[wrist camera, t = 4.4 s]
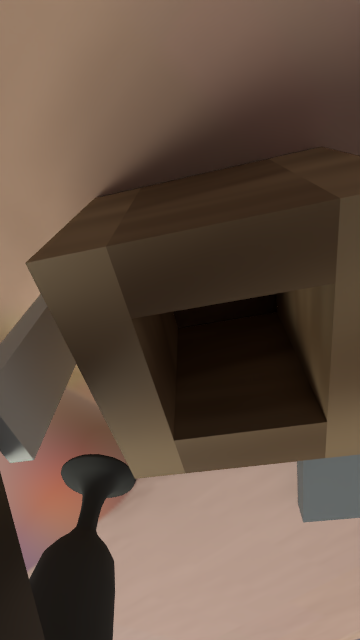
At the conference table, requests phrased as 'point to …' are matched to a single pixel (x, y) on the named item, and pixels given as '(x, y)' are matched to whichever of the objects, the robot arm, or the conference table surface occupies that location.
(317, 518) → the post stand
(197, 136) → the conference table surface
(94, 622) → the sundae
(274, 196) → the collar
